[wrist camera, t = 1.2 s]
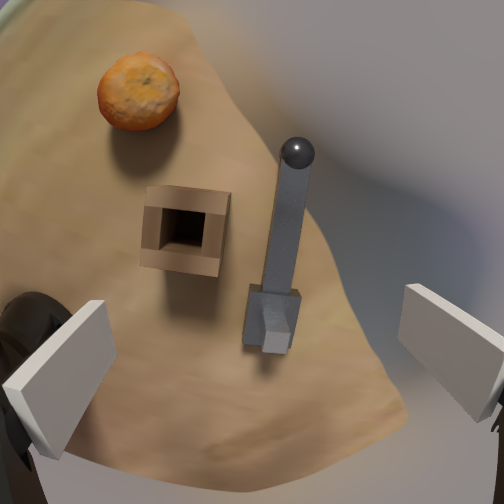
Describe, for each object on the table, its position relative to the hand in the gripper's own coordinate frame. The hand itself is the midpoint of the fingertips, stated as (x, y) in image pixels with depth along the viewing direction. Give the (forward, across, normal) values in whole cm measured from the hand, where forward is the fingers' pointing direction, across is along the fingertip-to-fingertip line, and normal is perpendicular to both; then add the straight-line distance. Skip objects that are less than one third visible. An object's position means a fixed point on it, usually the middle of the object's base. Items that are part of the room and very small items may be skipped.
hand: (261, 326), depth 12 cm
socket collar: (+20, -5, +2) cm, 21 cm away
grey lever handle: (+20, +4, -1) cm, 20 cm away
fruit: (+20, -10, +15) cm, 27 cm away
